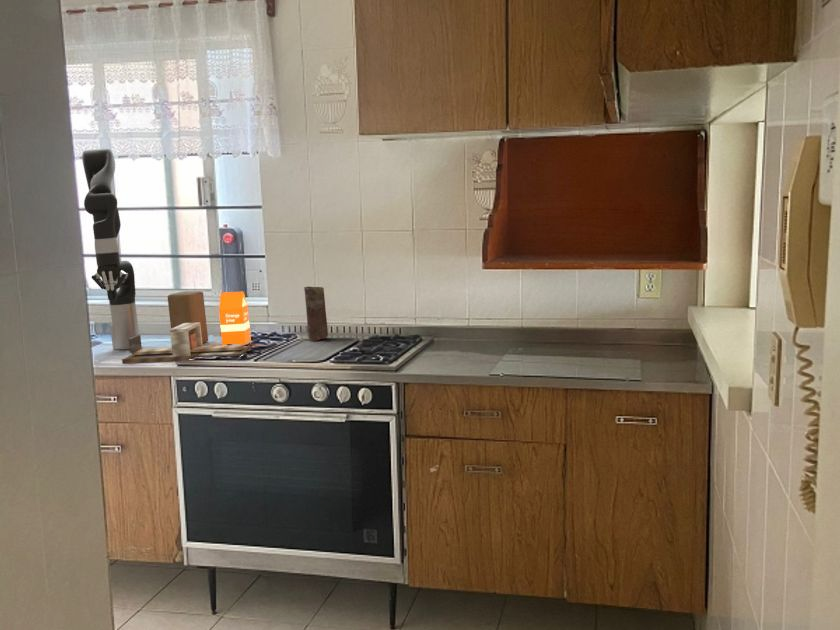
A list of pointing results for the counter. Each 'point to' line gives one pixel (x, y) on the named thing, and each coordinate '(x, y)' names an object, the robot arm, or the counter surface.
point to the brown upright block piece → (316, 313)
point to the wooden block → (188, 310)
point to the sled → (137, 348)
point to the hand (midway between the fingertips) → (113, 300)
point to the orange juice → (234, 318)
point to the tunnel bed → (182, 347)
